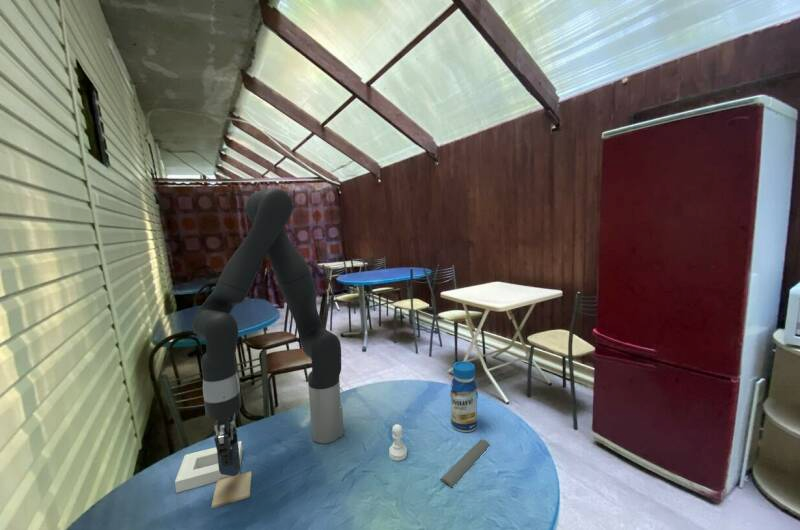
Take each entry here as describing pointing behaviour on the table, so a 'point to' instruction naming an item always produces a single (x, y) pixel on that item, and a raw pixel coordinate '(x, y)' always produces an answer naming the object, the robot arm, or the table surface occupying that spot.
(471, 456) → the gray half cylinder
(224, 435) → the robot arm
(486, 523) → the table surface
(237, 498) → the tan rectangular block
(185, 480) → the white cutout frame
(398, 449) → the chess pawn
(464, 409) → the beverage bottle
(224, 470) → the vaping device
